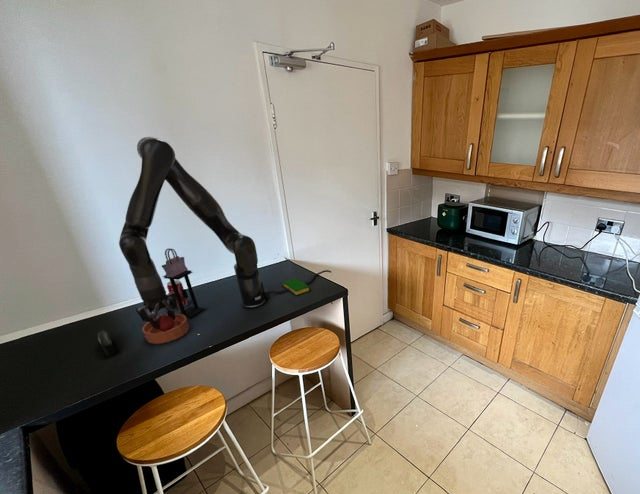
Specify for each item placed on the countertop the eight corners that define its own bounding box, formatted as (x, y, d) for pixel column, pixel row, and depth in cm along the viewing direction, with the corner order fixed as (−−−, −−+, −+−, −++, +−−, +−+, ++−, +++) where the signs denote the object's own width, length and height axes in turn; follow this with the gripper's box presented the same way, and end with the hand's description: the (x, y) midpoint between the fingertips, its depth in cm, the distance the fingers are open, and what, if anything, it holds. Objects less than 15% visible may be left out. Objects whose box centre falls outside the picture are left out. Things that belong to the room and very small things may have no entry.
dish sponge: (296, 281, 166) (295, 277, 165) (309, 290, 157) (308, 286, 156) (283, 286, 162) (282, 281, 161) (296, 295, 153) (295, 290, 152)
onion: (180, 328, 125) (173, 311, 121) (166, 336, 120) (159, 319, 117) (169, 326, 127) (163, 309, 123) (155, 333, 122) (148, 316, 118)
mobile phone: (112, 343, 111) (103, 326, 119) (101, 347, 109) (93, 329, 117) (118, 354, 113) (108, 337, 122) (107, 358, 111) (98, 340, 120)
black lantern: (189, 320, 133) (165, 254, 120) (174, 318, 134) (149, 252, 121) (207, 307, 142) (187, 245, 129) (193, 306, 143) (172, 243, 130)
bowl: (171, 321, 132) (167, 311, 130) (198, 327, 128) (194, 316, 126) (137, 341, 120) (132, 330, 117) (166, 347, 116) (161, 336, 114)
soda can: (175, 309, 141) (166, 285, 135) (173, 304, 144) (165, 281, 139) (189, 305, 144) (181, 282, 139) (187, 301, 148) (179, 278, 142)
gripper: (137, 295, 107) (154, 335, 115) (175, 278, 120) (188, 315, 127) (121, 292, 109) (139, 332, 117) (160, 276, 121) (174, 313, 129)
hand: (165, 323), depth 122 cm, fingers closed on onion, 5 cm apart
